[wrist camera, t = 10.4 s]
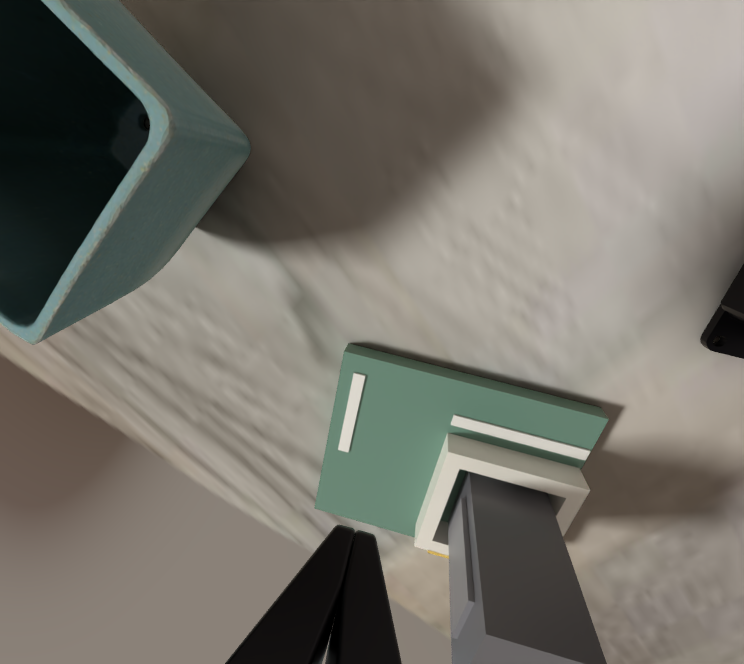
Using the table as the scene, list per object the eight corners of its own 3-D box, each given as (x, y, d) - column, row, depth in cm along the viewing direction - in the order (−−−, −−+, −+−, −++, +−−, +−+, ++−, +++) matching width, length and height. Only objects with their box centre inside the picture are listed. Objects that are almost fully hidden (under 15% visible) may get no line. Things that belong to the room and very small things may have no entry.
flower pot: (149, -24, 15) (-196, -265, 7) (308, 148, 17) (178, 118, 8) (61, 149, 18) (-244, 125, 10) (200, 280, 20) (31, 352, 12)
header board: (600, 407, 19) (623, 439, 16) (522, 554, 23) (531, 595, 21) (348, 343, 20) (336, 364, 17) (319, 495, 24) (306, 529, 22)
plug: (545, 486, 19) (617, 694, 12) (518, 538, 21) (566, 753, 13) (463, 464, 20) (480, 652, 12) (443, 518, 21) (446, 715, 14)
